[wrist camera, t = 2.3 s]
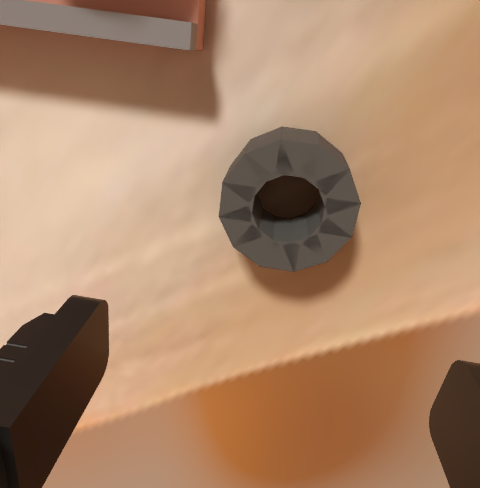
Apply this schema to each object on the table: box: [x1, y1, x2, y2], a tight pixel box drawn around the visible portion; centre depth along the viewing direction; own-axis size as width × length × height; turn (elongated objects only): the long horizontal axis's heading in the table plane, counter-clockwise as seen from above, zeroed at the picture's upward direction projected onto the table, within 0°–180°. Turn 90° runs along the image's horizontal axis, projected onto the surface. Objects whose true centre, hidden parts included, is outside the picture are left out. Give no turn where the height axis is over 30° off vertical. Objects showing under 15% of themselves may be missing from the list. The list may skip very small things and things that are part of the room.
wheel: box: [219, 127, 361, 272], centre depth 20 cm, size 6×6×3 cm
